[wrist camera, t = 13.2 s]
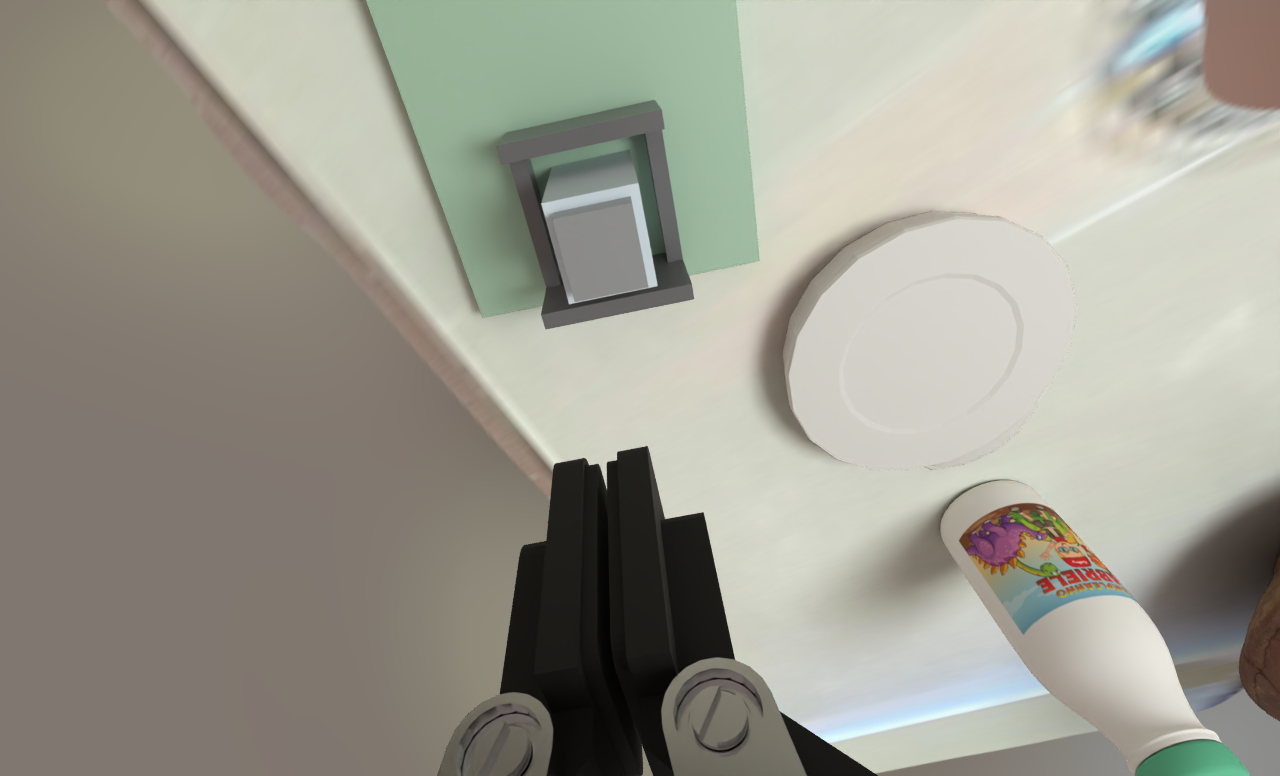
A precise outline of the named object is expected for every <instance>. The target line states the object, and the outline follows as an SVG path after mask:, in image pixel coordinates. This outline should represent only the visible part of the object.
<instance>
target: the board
mask: <svg viewBox="0 0 1280 776" xmlns="http://www.w3.org/2000/svg"><path fill="white" fill-rule="evenodd" d="M366 2H367V5H368V7H369V10H370V13H371V16H372V18H373V21H374V24H375V26H376V29H377V32H378V35H379V37H380V40H381V43H382V45H383V48H384V51H385V54H386V56H387V59H388V62H389V65H390V67H391V70H392V73H393V75H394V78H395V81H396V84H397V86H398V89H399V92H400V94H401V97H402V100H403V103H404V105H405V108H406V111H407V114H408V116H409V119H410V122H411V124H412V127H413V130H414V133H415V135H416V138H417V141H418V143H419V146H420V149H421V152H422V154H423V157H424V160H425V162H426V165H427V168H428V171H429V173H430V176H431V179H432V182H433V184H434V187H435V190H436V192H437V195H438V198H439V201H440V203H441V206H442V209H443V211H444V214H445V217H446V220H447V222H448V225H449V228H450V230H451V233H452V236H453V239H454V241H455V244H456V247H457V250H458V252H459V255H460V258H461V260H462V263H463V266H464V269H465V271H466V274H467V277H468V279H469V282H470V285H471V288H472V290H473V293H474V296H475V299H476V301H477V304H478V307H479V309H480V312H481V315H482V318H485V317H490V316H495V315H499V314H504V313H509V312H514V311H519V310H524V309H529V308H533V307H538V306H543V302H544V297H545V292H546V286H545V282H544V279H543V275H542V272H541V269H540V265H539V262H538V259H537V255H536V252H535V249H534V245H533V242H532V238H531V235H530V232H529V228H528V225H527V222H526V218H525V215H524V211H523V208H522V205H521V201H520V198H519V195H518V191H517V188H516V184H515V181H514V178H513V174H512V171H511V168H510V164H509V163H507V164H503V165H501V162H500V159H499V155H498V152H497V149H496V145H497V144H498V142H499V141H500V140H501V139H502V137H503V136H504V135H505V133H506V132H511V131H515V130H520V129H525V128H529V127H534V126H538V125H543V124H547V123H552V122H556V121H561V120H565V119H570V118H574V117H579V116H583V115H588V114H592V113H597V112H601V111H606V110H610V109H615V108H620V107H624V106H629V105H633V104H638V103H642V102H647V101H651V100H656V102H657V103H658V105H659V106H660V108H661V109H662V114H663V120H664V126H665V129H663V130H662V133H663V139H664V145H665V151H666V157H667V164H668V170H669V176H670V182H671V188H672V194H673V201H674V207H675V213H676V219H677V225H678V231H679V238H680V244H681V250H682V256H683V261H684V264H685V266H686V269H687V272H688V275H694V274H699V273H703V272H708V271H713V270H718V269H723V268H728V267H733V266H737V265H742V264H747V263H752V262H757V261H760V260H759V249H758V238H757V227H756V216H755V205H754V194H753V183H752V172H751V161H750V150H749V139H748V128H747V117H746V106H745V95H744V84H743V73H742V62H741V51H740V40H739V29H738V18H737V7H736V0H366ZM627 150H630V152H631V156H632V160H633V164H634V168H635V172H636V176H637V180H638V184H639V189H640V195H641V200H642V205H643V211H644V216H645V221H646V226H647V232H648V237H649V242H650V248H651V253H652V255H655V254H660V253H665V249H664V243H663V237H662V232H661V226H660V221H659V215H658V209H657V204H656V198H655V192H654V187H653V181H652V175H651V170H650V164H649V159H648V153H647V147H646V142H645V136H644V134H640V135H636V136H631V137H626V138H622V139H617V140H613V141H608V142H604V143H599V144H594V145H590V146H585V147H581V148H576V149H572V150H567V151H562V152H558V153H553V154H549V155H544V156H539V157H535V158H530V159H531V163H532V167H533V170H534V174H535V177H536V181H537V185H538V188H539V192H540V195H541V199H543V196H544V192H545V189H546V186H547V182H548V179H549V175H550V172H551V169H552V167H553V166H558V165H562V164H567V163H572V162H576V161H581V160H586V159H590V158H595V157H600V156H604V155H609V154H613V153H618V152H623V151H627Z"/></svg>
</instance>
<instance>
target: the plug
mask: <svg viewBox="0 0 1280 776" xmlns="http://www.w3.org/2000/svg"><path fill="white" fill-rule="evenodd" d="M541 205H542V208H543V212H544V215H545V219H546V223H547V226H548V230H549V234H550V237H551V241H552V244H553V248H554V252H555V255H556V259H557V262H558V266H559V270H560V273H561V277H562V280H563V284H564V288H565V291H566V295H567V299H568V302H569V304H572V303H577V302H582V301H587V300H592V299H597V298H602V297H607V296H612V295H617V294H622V293H626V292H631V291H636V290H641V289H646V288H651V287H656V286H658V285H657V280H656V274H655V269H654V264H653V258H652V253H651V248H650V242H649V237H648V232H647V226H646V221H645V216H644V211H643V205H642V200H641V195H640V189H639V184H638V180H637V176H636V172H635V168H634V164H633V160H632V156H631V152H630V150H627V151H623V152H618V153H613V154H609V155H604V156H600V157H595V158H590V159H586V160H581V161H576V162H572V163H567V164H562V165H558V166H553V167H552V169H551V172H550V175H549V179H548V182H547V186H546V189H545V192H544V196H543V199H542V203H541Z"/></svg>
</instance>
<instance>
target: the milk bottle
mask: <svg viewBox="0 0 1280 776" xmlns="http://www.w3.org/2000/svg"><path fill="white" fill-rule="evenodd" d="M940 528H941V537H942V540H943V542H944V544H945V545H946V547H947V549H948V550H949V552H950V554H951V555H952V557H953V558H954V560H955V561H956V563H957V564H958V566H959V567H960V569H961V570H962V572H963V574H964V575H965V577H966V578H967V580H968V581H969V583H970V584H971V586H972V587H973V589H974V590H975V592H976V593H977V595H978V596H979V598H980V599H981V601H982V602H983V604H984V605H985V607H986V608H987V610H988V611H989V613H990V614H991V616H992V617H993V619H994V620H995V622H996V623H997V625H998V626H999V628H1000V629H1001V631H1002V632H1003V634H1004V635H1005V637H1006V638H1007V640H1008V641H1009V643H1010V644H1011V645H1012V647H1013V648H1014V650H1015V651H1016V652H1017V654H1018V655H1019V657H1020V658H1021V659H1022V661H1023V662H1024V664H1025V665H1026V666H1027V668H1028V669H1029V670H1030V672H1031V673H1032V674H1033V675H1034V676H1035V677H1036V679H1037V680H1038V681H1039V682H1040V683H1041V684H1042V685H1043V686H1044V687H1045V688H1046V689H1047V690H1048V691H1049V692H1050V693H1051V694H1052V695H1053V696H1055V697H1056V698H1057V699H1058V700H1059V701H1061V702H1062V703H1063V704H1065V705H1066V706H1067V707H1069V708H1070V709H1072V710H1073V711H1074V712H1076V713H1077V714H1079V715H1080V716H1081V717H1083V718H1084V719H1086V720H1087V721H1088V722H1090V723H1091V724H1092V725H1093V726H1095V727H1096V728H1097V729H1098V730H1099V731H1101V732H1102V733H1103V734H1104V735H1105V736H1106V737H1107V738H1108V739H1110V740H1111V741H1112V742H1113V743H1114V744H1115V745H1116V746H1117V747H1118V749H1119V750H1120V751H1121V752H1122V753H1123V755H1124V756H1125V757H1126V759H1127V768H1128V770H1129V771H1130V772H1132V773H1133V774H1134V776H1250V775H1249V773H1248V771H1247V769H1246V768H1245V767H1244V766H1243V764H1242V763H1241V762H1240V761H1239V759H1238V758H1237V757H1236V756H1235V755H1234V754H1233V753H1232V752H1231V750H1230V749H1229V748H1228V747H1227V746H1225V745H1224V744H1223V743H1222V742H1221V741H1220V740H1219V737H1218V735H1217V734H1216V733H1215V732H1213V731H1211V730H1208V729H1206V728H1204V726H1203V725H1202V724H1201V723H1200V721H1199V720H1198V719H1197V717H1196V716H1195V714H1194V712H1193V711H1192V709H1191V707H1190V705H1189V703H1188V701H1187V699H1186V697H1185V695H1184V693H1183V690H1182V688H1181V685H1180V682H1179V680H1178V677H1177V673H1176V670H1175V667H1174V664H1173V661H1172V658H1171V655H1170V652H1169V650H1168V648H1167V646H1166V643H1165V641H1164V639H1163V637H1162V636H1161V634H1160V632H1159V631H1158V629H1157V627H1156V626H1155V625H1154V623H1153V622H1152V620H1151V619H1150V618H1149V616H1148V615H1147V613H1146V612H1145V611H1144V610H1143V609H1142V607H1141V606H1140V605H1139V604H1138V603H1137V602H1136V600H1135V599H1134V598H1133V597H1132V596H1131V595H1130V593H1129V592H1128V591H1127V590H1126V589H1125V588H1124V586H1123V585H1122V584H1121V583H1120V582H1119V581H1118V580H1117V579H1116V578H1115V577H1114V575H1113V574H1112V573H1111V572H1110V571H1109V570H1108V569H1107V568H1106V567H1105V565H1104V564H1103V563H1102V562H1101V561H1100V560H1099V559H1098V558H1097V557H1096V556H1095V554H1094V553H1093V552H1092V551H1091V550H1090V549H1089V548H1088V547H1087V546H1086V545H1085V544H1084V542H1083V541H1082V540H1081V539H1080V538H1079V537H1078V536H1077V535H1076V534H1075V533H1074V532H1073V531H1072V529H1071V528H1070V527H1069V526H1068V525H1067V524H1066V523H1065V522H1064V521H1063V520H1062V519H1061V518H1060V516H1059V515H1058V514H1057V513H1056V512H1055V511H1054V510H1053V509H1052V508H1051V507H1050V506H1049V505H1048V504H1047V502H1046V501H1045V500H1044V499H1043V498H1042V497H1041V496H1040V495H1039V494H1038V493H1037V492H1036V491H1035V490H1034V489H1032V488H1031V487H1029V486H1027V485H1025V484H1022V483H1020V482H1016V481H1011V480H999V481H991V482H988V483H984V484H981V485H979V486H976V487H974V488H972V489H970V490H968V491H966V492H965V493H963V494H962V495H961V496H959V497H958V498H956V499H955V500H954V501H953V502H952V503H951V504H950V505H949V507H948V508H947V510H946V511H945V513H944V515H943V517H942V520H941V524H940Z"/></svg>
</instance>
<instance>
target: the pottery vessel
mask: <svg viewBox="0 0 1280 776" xmlns="http://www.w3.org/2000/svg"><path fill="white" fill-rule="evenodd" d="M1273 573H1274V577H1273V578H1272V580H1271V581H1270V583H1269V585H1268V587H1267V589H1266V591H1265V592H1264V594H1263V595H1262V597H1261V599H1260V601H1259V603H1258V605H1257V607H1256V610H1255V612H1254V614H1253V617H1252V619H1251V622H1250V624H1249V627H1248V630H1247V634H1246V638H1245V642H1244V644H1243V647H1242V650H1241V655H1240V661H1239V673H1240V678H1241V682H1242V684H1243V687H1244V689H1245V690H1246V692H1247V694H1248V695H1249V696H1250V698H1251V699H1252V700H1253V701H1254V702H1255V703H1256V704H1257V705H1258V706H1259V707H1260V708H1261V709H1263V710H1264V711H1266V713H1267V714H1269V715H1270V716H1272V717H1273V718H1275V719H1277V720H1279V721H1280V556H1279V557H1278V559H1277V562H1276V564H1275V567H1274V570H1273Z"/></svg>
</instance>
